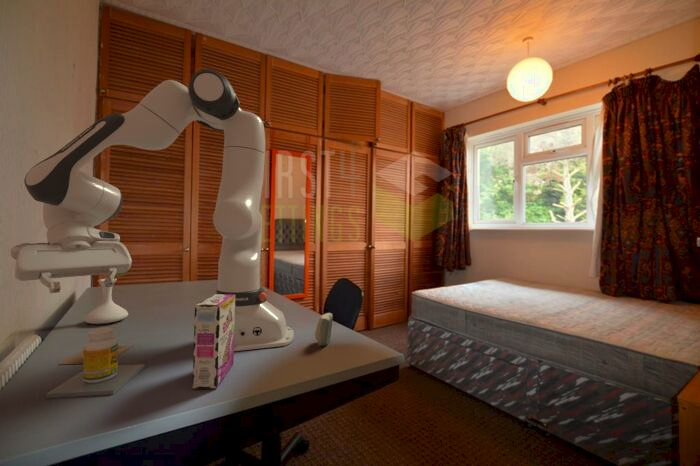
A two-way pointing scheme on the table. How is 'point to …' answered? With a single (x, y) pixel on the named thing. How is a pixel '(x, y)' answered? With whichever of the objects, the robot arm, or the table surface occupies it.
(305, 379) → the table surface
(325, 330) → the beige upright rounded block
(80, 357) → the tile
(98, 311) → the flower in vase
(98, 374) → the supplement bottle
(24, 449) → the table surface
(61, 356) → the table surface
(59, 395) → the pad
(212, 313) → the candy bar box
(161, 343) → the table surface
